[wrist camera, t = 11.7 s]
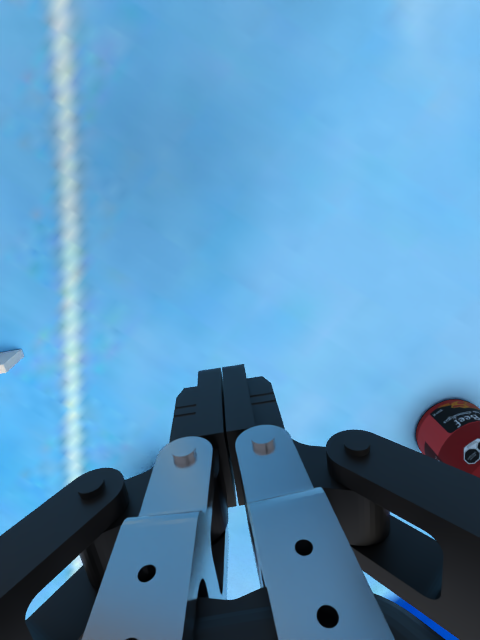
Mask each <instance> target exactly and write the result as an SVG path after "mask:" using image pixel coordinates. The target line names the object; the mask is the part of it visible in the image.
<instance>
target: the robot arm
mask: <svg viewBox="0 0 480 640" xmlns="http://www.w3.org/2000/svg"><path fill="white" fill-rule="evenodd" d="M222 372H223V378H222ZM222 372H221V368H216V369H209V370H202V371H199V372H198V385H197V386H196V387H189V388H184V389H183V390H182V392H181V393H180V394H179V395H178V397H177V398H176V404H175V410H174V418H173V423H172V429H171V435H170V441H169V444H167V445H166V446H165V447H163V448H162V449H161V450H160V452H159V453H158V455H157V458H156V461H155V464H154V467H153V468H152V469H150V470H148V471H146V472H144V473H142V474H139V475H137V476H134V477H132V478H129V479H127V480H124V478H123V475H122V474H121V472H120V471H118V470H116V469H113V468H100V469H95V470H92V471H89V472H87V473H85V474H83V475H81V476H79V477H78V478H76V479H75V480H74V481H72V482H71V483H70V484H68V485H67V486H66V487H64V488H63V489H62V490H60V491H59V492H58V493H56V494H55V495H54V496H52V497H51V498H50V499H48V500H47V501H46V502H44V503H43V504H42V505H41V506H39V507H38V508H37V509H35V510H34V511H33V512H31V513H30V514H29V515H27V516H26V517H25V518H23V519H22V520H21V521H19V522H18V523H17V524H15V525H14V526H13V527H11V528H10V529H9V530H8V531H6V532H5V533H4V534H2V535H1V536H0V640H445V639H444V638H443V637H441V636H440V635H439V634H437V633H436V632H435V631H434V630H432V629H431V628H430V627H428V626H427V625H426V624H424V623H423V622H422V621H421V620H419V619H418V618H417V617H415V616H414V615H413V614H411V613H410V612H408V611H407V610H405V609H404V608H402V607H401V606H399V605H397V604H396V603H394V602H392V601H390V600H388V599H386V598H384V597H382V596H379V595H376V594H374V593H373V592H372V590H371V588H370V586H369V584H368V582H367V580H366V578H365V576H364V574H363V571H364V572H366V573H367V574H368V575H370V576H371V577H373V578H374V579H375V580H377V581H378V582H380V583H381V584H382V585H384V586H385V587H387V588H388V589H389V590H391V591H392V592H394V593H395V594H396V595H398V596H399V597H401V598H402V599H403V600H405V601H406V602H408V603H409V604H410V605H412V606H413V607H415V608H416V609H417V610H419V611H420V612H422V613H423V614H424V615H426V616H427V617H429V618H430V619H432V620H433V621H434V622H436V623H437V624H439V625H440V626H441V627H443V628H444V629H446V630H447V631H448V632H450V633H451V634H453V635H454V636H455V637H457V638H458V639H460V640H480V478H479V477H477V476H474V475H472V474H470V473H467V472H465V471H462V470H460V469H458V468H455V467H453V466H450V465H448V464H446V463H443V462H441V461H438V460H436V459H434V458H431V457H429V456H426V455H424V454H422V453H419V452H417V451H414V450H412V449H409V448H407V447H405V446H402V445H400V444H397V443H395V442H393V441H390V440H388V439H385V438H383V437H381V436H378V435H376V434H373V433H371V432H368V431H363V430H346V431H342V432H339V433H337V434H335V435H333V436H332V437H331V438H330V439H329V440H328V442H327V444H326V447H320V446H309V445H305V444H301V443H299V442H297V441H295V440H293V439H292V438H291V436H290V434H289V433H288V432H287V431H286V430H285V428H284V425H283V422H282V418H281V415H280V412H279V408H278V405H277V402H276V398H275V395H274V392H273V389H272V385H271V383H270V382H269V381H268V380H266V379H265V378H264V377H262V376H260V377H254V378H246V373H245V368H244V364H241V365H235V366H228V367H222ZM234 479H235V481H234ZM235 485H236V491H237V497H238V503H239V505H245V508H246V514H247V520H248V526H249V532H250V537H251V542H252V547H253V552H254V557H255V562H256V567H257V572H258V577H259V582H260V587H261V588H260V589H258V590H256V591H254V592H251V593H249V594H247V595H245V596H242V597H240V598H238V599H234V600H227V573H228V545H229V532H228V527H227V524H228V507H234V506H236V493H235ZM390 512H392V513H394V514H395V515H397V516H399V517H401V518H403V519H404V520H406V521H408V522H410V523H412V524H413V525H415V526H417V527H419V528H421V529H422V530H424V531H426V532H427V533H429V534H430V535H431V536H432V537H433V538H434V539H435V540H434V539H432V538H430V537H429V536H427V535H425V534H423V533H421V532H420V531H418V530H416V529H414V528H413V527H411V526H409V525H407V524H405V523H404V522H402V521H400V520H398V519H397V518H395V517H393V516H391V515H390ZM78 555H80V558H81V560H82V563H83V566H82V567H81V568H80V569H79V570H78V571H77V572H76V573H75V574H73V575H72V576H71V577H70V578H69V579H68V580H67V581H66V582H65V583H64V584H63V585H62V586H61V587H60V588H59V589H58V590H57V591H56V592H55V593H54V594H53V595H52V596H51V597H50V598H49V599H48V600H47V601H46V602H45V603H43V604H42V605H41V606H40V607H39V608H38V609H37V610H36V611H35V612H34V613H33V614H32V615H31V616H30V617H29V618H28V619H27V620H25V615H26V611H27V609H28V606H29V605H30V603H31V601H32V600H33V598H34V597H35V596H36V595H37V594H38V593H39V592H40V591H41V590H42V589H43V588H44V587H45V586H46V585H47V584H48V583H49V582H51V581H52V580H53V579H54V578H55V577H56V576H57V575H58V574H59V573H60V572H61V571H62V570H63V569H64V568H66V567H67V566H68V565H69V564H70V563H71V562H72V561H73V560H74V559H75V558H76V557H77V556H78ZM362 570H363V571H362Z"/></svg>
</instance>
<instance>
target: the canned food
mask: <svg viewBox="0 0 480 640" xmlns="http://www.w3.org/2000/svg"><path fill="white" fill-rule="evenodd" d="M416 439H417V443H418V446H419V449H420V450H421V452H422V454H424V455H426V456H429V457H431V458H434V459H436V460H438V461H441V462H443V463H446V464H448V465H450V466H453V467H455V468H458V469H460V470H462V471H465V472H467V473H470V474H472V475H474V476H477V477H479V478H480V409H479V408H478V407H477V406H475V405H474V404H472V403H469V402H466V401H463V400H458V399H452V400H446V401H443V402H440V403H438V404H436V405H435V406H433V407H431V408H430V409H429V410H428V411H427V412H426V413H425V414H424V415H423V416H422V418H421V420H420V421H419V423H418V426H417V430H416Z"/></svg>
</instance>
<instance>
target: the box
mask: <svg viewBox="0 0 480 640" xmlns="http://www.w3.org/2000/svg"><path fill="white" fill-rule="evenodd" d="M23 357H24V354H23V352H22V349H19V350H13V351H7V352H1V353H0V373H6V372H8V371H9V370H10V369H11V368H12V367H13V366H14V365H15V364H16V363H18V362H19V361H20V360H21V359H22V358H23Z"/></svg>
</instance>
